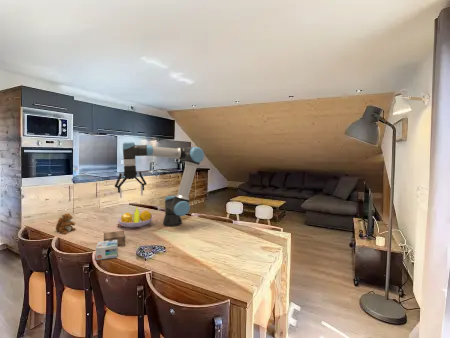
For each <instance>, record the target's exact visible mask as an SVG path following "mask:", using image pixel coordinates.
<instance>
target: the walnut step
mask: <svg viewBox="0 0 450 338" xmlns="http://www.w3.org/2000/svg"><path fill="white" fill-rule="evenodd" d="M110 240H117V243H118V248H119V247H124V246H126V234H125V230H118V231H108V232H103V241H110Z"/></svg>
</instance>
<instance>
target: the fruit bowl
mask: <svg viewBox="0 0 450 338" xmlns="http://www.w3.org/2000/svg"><path fill="white" fill-rule="evenodd" d="M153 217H154V215H152V213H150V212H149V210H143V211H142V212H141V213H140V210H139V209H138V206H136V207H135V210H134V212H133V213H130V212H125V213H124V214H122V215H121V216H119V217H118V219H117V222H118V223H119V224H120V225H121V226H122V227H125V228H130V229H136V228H142V227H144V226H146V225H149V224H150V223H151V222H152V220H153ZM132 221H133V223H131V222H132Z"/></svg>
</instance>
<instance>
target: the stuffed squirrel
mask: <svg viewBox="0 0 450 338" xmlns="http://www.w3.org/2000/svg"><path fill="white" fill-rule="evenodd" d="M73 219H74V217H73V216H72V215H71V213H64V214H62V215H61V217H59V219H58V221H57V223H56V226H55V230H56V232H58V233H59V234H62V235H67V234H68V233H69V232H74V231H76V229H77V228H75V227H73V226H75V225H76V223H75V222H73V221H71V220H73Z"/></svg>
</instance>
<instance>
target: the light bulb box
mask: <svg viewBox="0 0 450 338" xmlns="http://www.w3.org/2000/svg"><path fill="white" fill-rule="evenodd" d="M118 249H119V247H118V243H117V240H110V241H104V240H102V241H98V242H97V244H96V247H95V260H96V261H100V260H107V259H113V258H117V256H118Z"/></svg>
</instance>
